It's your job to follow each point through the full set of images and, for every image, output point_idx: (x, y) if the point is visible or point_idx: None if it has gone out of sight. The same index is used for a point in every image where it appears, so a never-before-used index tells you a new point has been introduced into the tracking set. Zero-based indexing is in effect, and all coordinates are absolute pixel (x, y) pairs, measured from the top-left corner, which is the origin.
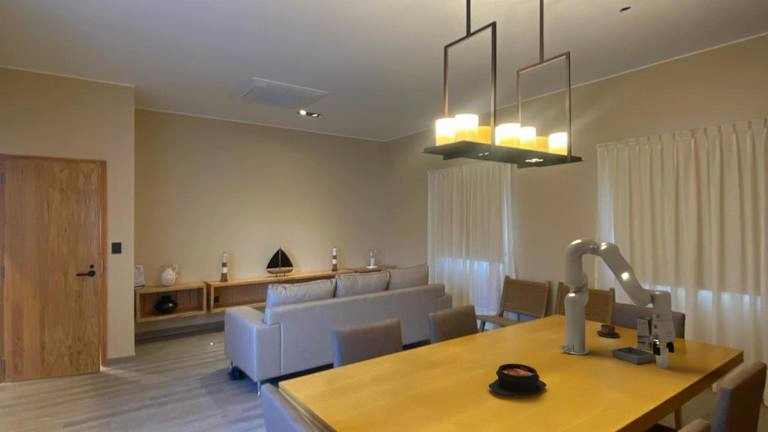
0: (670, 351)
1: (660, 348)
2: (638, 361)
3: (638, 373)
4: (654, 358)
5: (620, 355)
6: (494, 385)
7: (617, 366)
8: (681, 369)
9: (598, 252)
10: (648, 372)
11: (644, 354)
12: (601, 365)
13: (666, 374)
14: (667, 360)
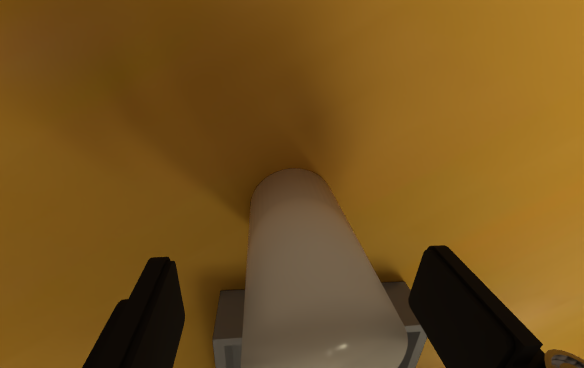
0: (175, 289)
1: (395, 342)
2: (399, 298)
3: (571, 185)
4: (225, 307)
5: None
6: None
7: (517, 296)
8: (204, 103)
9: None
10: (504, 171)
11: (231, 364)
12: (556, 325)
13: (453, 85)
14: (305, 200)
